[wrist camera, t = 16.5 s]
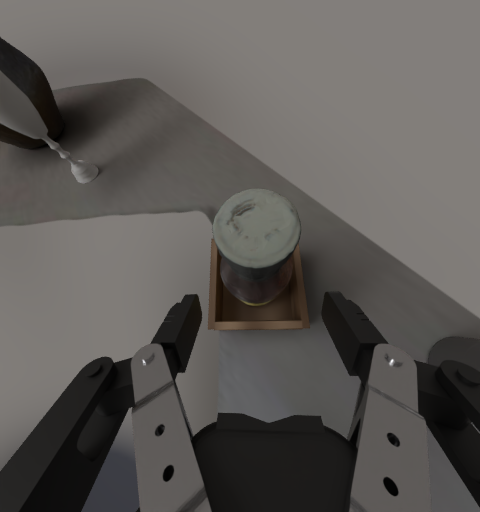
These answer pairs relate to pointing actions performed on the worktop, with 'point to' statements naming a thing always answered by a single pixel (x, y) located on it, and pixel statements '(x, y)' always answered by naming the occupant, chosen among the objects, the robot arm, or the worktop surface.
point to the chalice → (35, 125)
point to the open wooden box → (257, 317)
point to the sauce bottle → (256, 244)
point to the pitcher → (29, 96)
